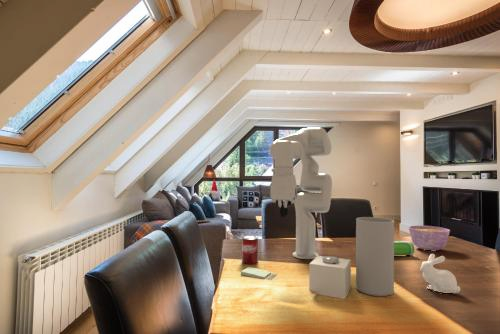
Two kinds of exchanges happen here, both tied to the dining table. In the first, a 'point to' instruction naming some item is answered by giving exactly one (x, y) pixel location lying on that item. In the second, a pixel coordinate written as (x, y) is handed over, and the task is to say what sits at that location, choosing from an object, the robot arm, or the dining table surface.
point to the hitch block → (330, 277)
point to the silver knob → (330, 260)
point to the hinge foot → (271, 276)
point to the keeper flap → (255, 272)
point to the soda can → (250, 250)
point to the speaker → (403, 248)
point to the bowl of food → (429, 237)
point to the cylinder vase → (375, 256)
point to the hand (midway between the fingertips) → (284, 216)
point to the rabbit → (439, 276)
